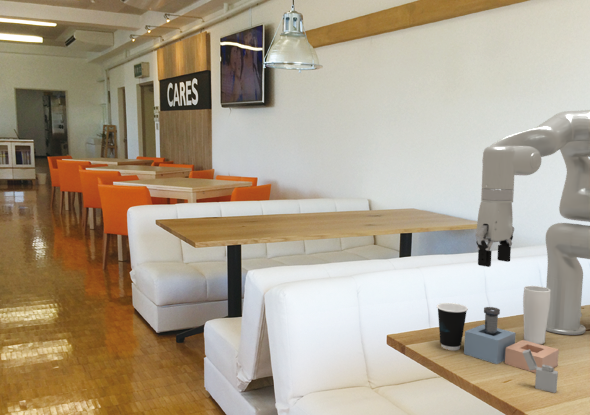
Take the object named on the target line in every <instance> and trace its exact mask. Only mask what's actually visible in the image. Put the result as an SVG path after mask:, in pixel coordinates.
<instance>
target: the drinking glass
mask: <svg viewBox="0 0 590 415" xmlns="http://www.w3.org/2000/svg"><path fill="white" fill-rule="evenodd" d="M522 296H523V298H522V300H523V301H522V307H523V308H522V309H523V310H522V311H523V340H525V341H529V342H533V343H536V344H540V345H543V344H545V342H546V334H547V330H546V327H547V321H548V315H549V308H550V297H551V290H550V289H548V288H546V287H544V286H539V285H526V286H524V287H523V295H522Z"/></svg>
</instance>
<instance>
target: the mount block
mask: <svg viewBox="0 0 590 415" xmlns="http://www.w3.org/2000/svg"><path fill="white" fill-rule="evenodd" d="M529 349H530V350H531V353H532V355H533V357H534V360H535V362H536V364H537V367H540V368H542V365H548V366H552V367H553V368H556V367H557V366H558V364H559V353H560V352H559V350H560V349H558V348H555V347H551V346H547V345H543V344H536V343H533V342H529V341H525V340H524V339H522V340H519V341H517V342H515V344H513V345H510V346H508V347H506V350H505V361H504V364H506V365H509V366H512V367H515V368H518V369H522V370H525V371H527V372H528V371H529V372H531V373H534V374H536V369H535V370H530V369H529V367H528V365H527V362H526V360H525V358H524V355H523V351H524V350H529Z"/></svg>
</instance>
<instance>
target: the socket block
mask: <svg viewBox="0 0 590 415" xmlns="http://www.w3.org/2000/svg"><path fill="white" fill-rule="evenodd" d="M484 332H485V323H484V324H481V325H478V326H475V327H473V328H469V329H467V330H465V331H464V345H463V347H464V348H463V349H464V350H463V354H464V355H466V356H469V357H472V358H476V359H480V360H482V361H486V362H489V363H492V364H495V365H499V364H500V363H502V362H505V350H506V347H508V346H510V345H513V344H515V343H516V332H514V331H510V330H507V329H502V328H499V327H497V335H495V336H492V335H488V334H485V333H484Z"/></svg>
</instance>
